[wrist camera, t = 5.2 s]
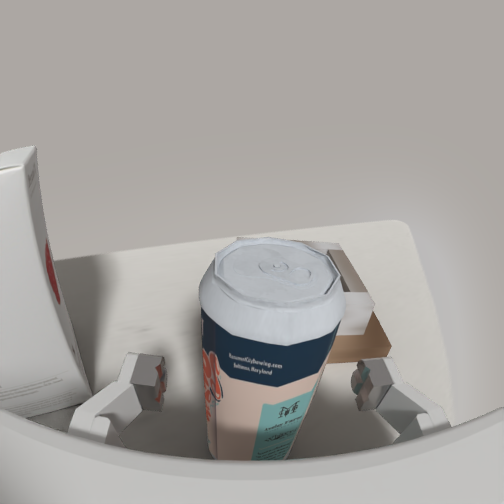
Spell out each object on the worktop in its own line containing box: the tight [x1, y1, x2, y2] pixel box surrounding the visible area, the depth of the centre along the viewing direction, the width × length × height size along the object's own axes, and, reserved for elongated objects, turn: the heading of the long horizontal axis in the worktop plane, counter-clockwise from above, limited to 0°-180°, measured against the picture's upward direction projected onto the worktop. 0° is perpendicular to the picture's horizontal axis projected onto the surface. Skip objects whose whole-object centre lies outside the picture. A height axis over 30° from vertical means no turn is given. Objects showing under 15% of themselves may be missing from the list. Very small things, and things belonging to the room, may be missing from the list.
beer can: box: [199, 237, 346, 461], centre depth 12 cm, size 5×5×12 cm
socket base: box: [237, 237, 392, 363], centre depth 25 cm, size 14×13×4 cm
